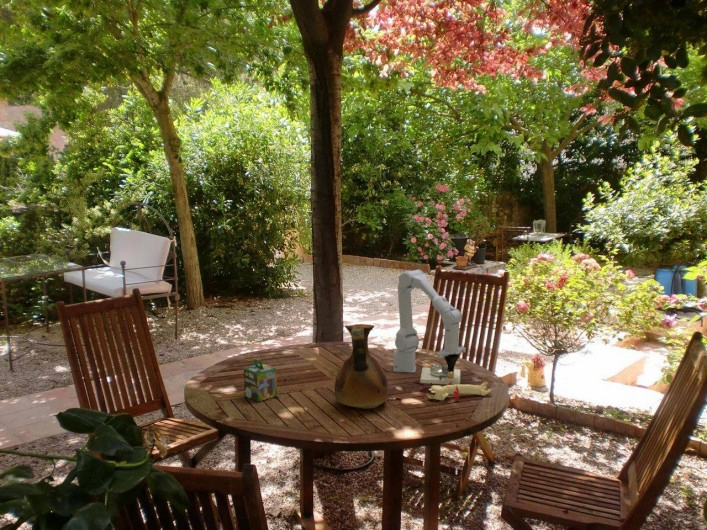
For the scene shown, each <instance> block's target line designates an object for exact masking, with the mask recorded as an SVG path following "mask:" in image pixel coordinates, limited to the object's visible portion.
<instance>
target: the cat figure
mask: <svg viewBox="0 0 707 530" xmlns="http://www.w3.org/2000/svg"><path fill="white" fill-rule="evenodd" d="M482 380H484V381H483V382H482V383H481V384H480V385H478V384H477V385H476V384H475V385H474V384H460V385H450V384H451V383H452V382H450V383H449V384H445V385H443V386H442V385H440V384H435V385H434V384H433V385H432V386H430V388H428V389H427V394H426V396H427V398H428V399H429V400H439V401H444V400H445V399H446V397H449V396H450V395H454V396H453V398H454V399H455V401H456V402H457V401H458V400H459V398H460V395H459V394H469V395H477V396H487V397H488V396H490V397H492V390H491V389H490V388H488V387H487V386H486V385H488V384H489V383H490V378H488V376H487V375H483V376H482ZM487 388H488V389H487ZM428 393H429V394H428Z"/></svg>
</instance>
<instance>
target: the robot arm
mask: <svg viewBox="0 0 707 530" xmlns="http://www.w3.org/2000/svg"><path fill="white" fill-rule="evenodd" d="M414 289H420V290H421V291H422V292H423V294H425V295H426V296H427V298H429V299H430V300H431V302H432V303H431V305H432V307H434V309H435V310H436V311H437V313H438V314H439V315H440V316H441V321H442V324H443V328H444V338H443V339H444V340H443V341H444V342H443V343H444V345H443V349H441V350H440V351H437V352H436V358H438V359H442V358H444V360H445V362H446V366H447V367H448V368H449V369H451V370H452V371H454V369H455V366H456V363H457V361H458V360H459V359H460V356H459V355H460V353H466V350H467V349H466V347H464V346H460V345H459V339H460V338H459V337H460V323H461V322H462V319H463V314H462V312H461V310H459V309H458V308H455V307H454V306H452V304H450V302H449V301H448V300H447V298H446V297H445V296H443V295H439V293H438V292H437V291H436V289H434V287H433V286H432V284H431V283H430V282H429V280H428V278H427V275H426V274H425V272H424V271H423V270H421V269H415V270H414V269H413V270H407V271H406V270H405V271H402V272H401V273H400V275H399V276H398V284H397V299H398V312H399V316H398V317H399V329H398V331H397V332H396V334H395V336H396V337H395V340H394V345H395V347H396V349H395V348H394V351H393V362H392V367H393V368H392V369H393V370H392V371H393V372H396V373H397V372H398V373H416V370H417V366H416V351H415V349H416V347H417V346H418V347H419V344H420V338H419V336H418V330H417V329H415V328H414V322H413V321H414V320H413V308H412V307H413V306H412V295H411V294H412V291H413V290H414ZM458 354H459V355H458Z"/></svg>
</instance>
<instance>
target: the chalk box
mask: <svg viewBox="0 0 707 530" xmlns="http://www.w3.org/2000/svg"><path fill="white" fill-rule="evenodd" d="M253 362H254V365H250V366H247V367H244V368H243V382H244V383H243V386H244V397H245V396H246V398H247V397H248V398H247V399H249V398H250V399H249V400H252V401H254V400H255V401H254V402H256V401H257V403H260V402H259V401H261V402H264V401H265V400H266V399H267V400H269V399H272V398H276V397H278V388H277V386H278V385H277V367H275V366H272V365H269V364H265V363H262V361H261V360H260V359H259V360H258V359H256V358H254V359H253ZM263 400H264V401H263ZM267 400H266V401H267Z"/></svg>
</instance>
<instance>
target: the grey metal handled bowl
mask: <svg viewBox="0 0 707 530" xmlns="http://www.w3.org/2000/svg"><path fill="white" fill-rule="evenodd" d="M429 368H430V374H431V375H433V376H436V377H448V378H450V379H453V378H454V371H452V370H451V369H449V368H448V365H447V364H442V365H440V364H436V365H433V366H430V367H429Z"/></svg>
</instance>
